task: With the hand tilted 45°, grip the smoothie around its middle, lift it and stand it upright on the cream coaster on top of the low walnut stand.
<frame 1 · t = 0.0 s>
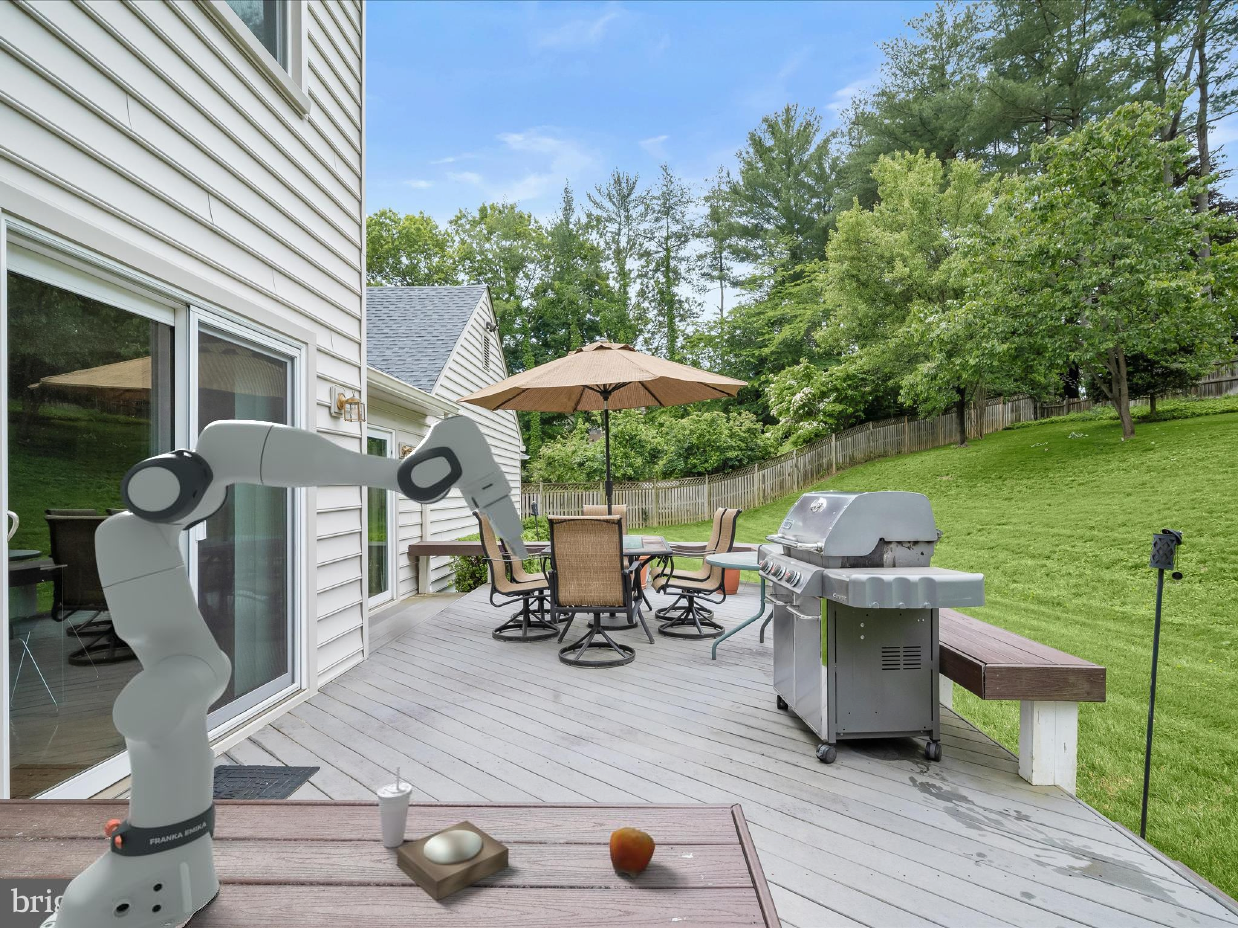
hand: (521, 556, 119), 54 cm above the table, tool tilted 30°, fingers open, 8 cm apart
fruit: (631, 870, 109), on the table
smoothie: (393, 842, 117), on the table
stand: (452, 865, 109), on the table
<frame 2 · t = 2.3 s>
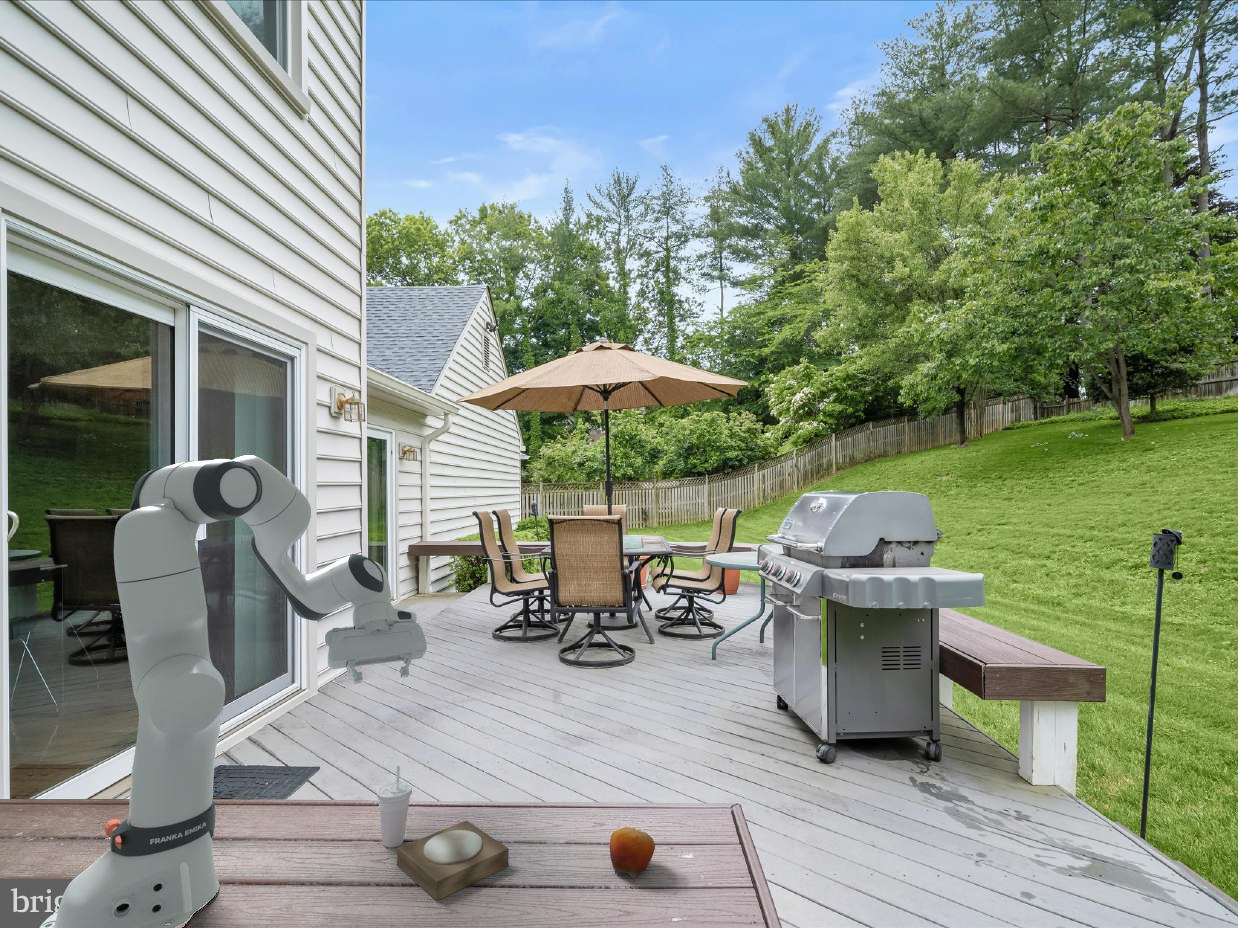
hand: (382, 678, 130), 27 cm above the table, tool tilted 45°, fingers open, 8 cm apart
nothing on the table moved.
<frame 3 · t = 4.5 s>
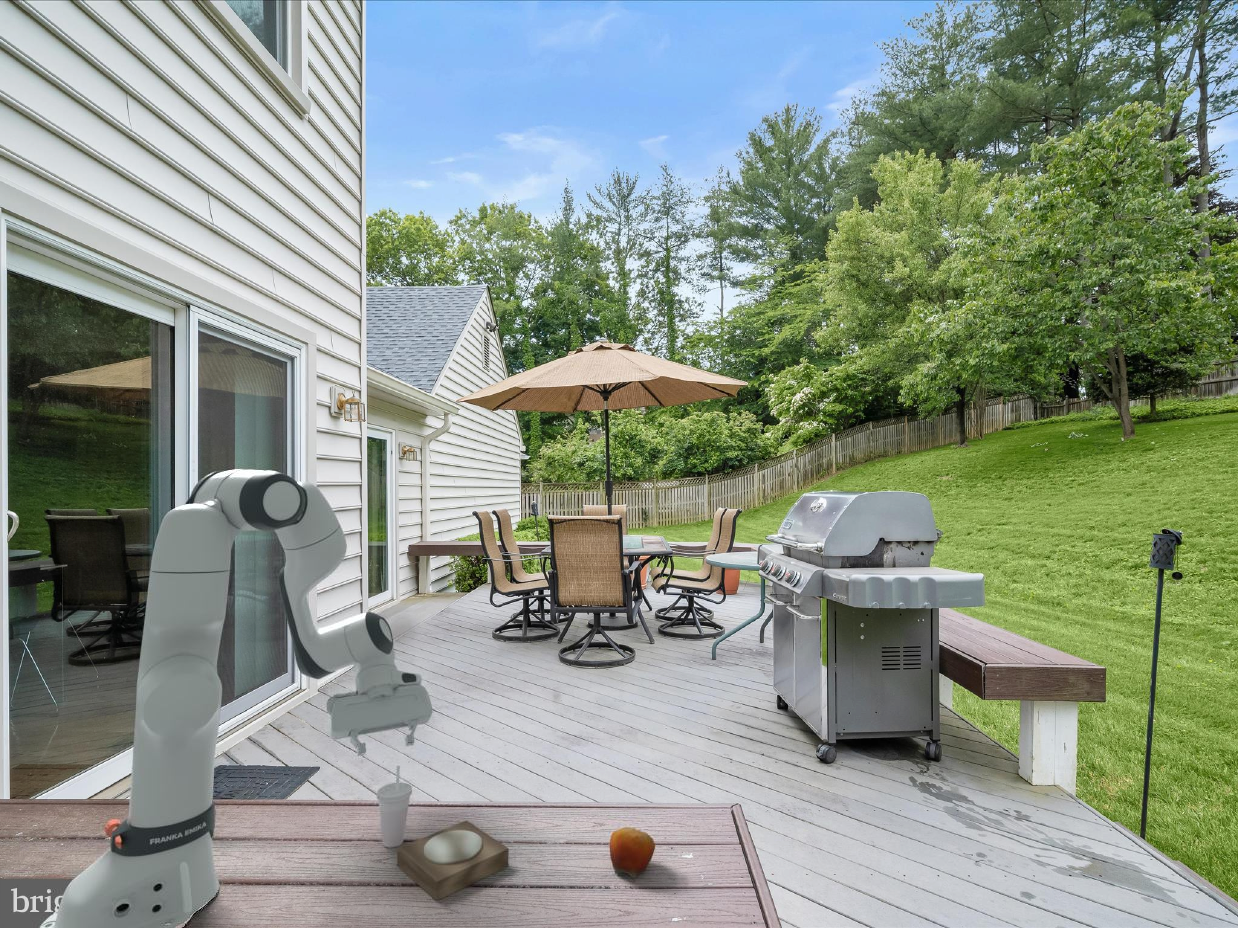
hand: (386, 749, 125), 15 cm above the table, tool tilted 45°, fingers open, 8 cm apart
nothing on the table moved.
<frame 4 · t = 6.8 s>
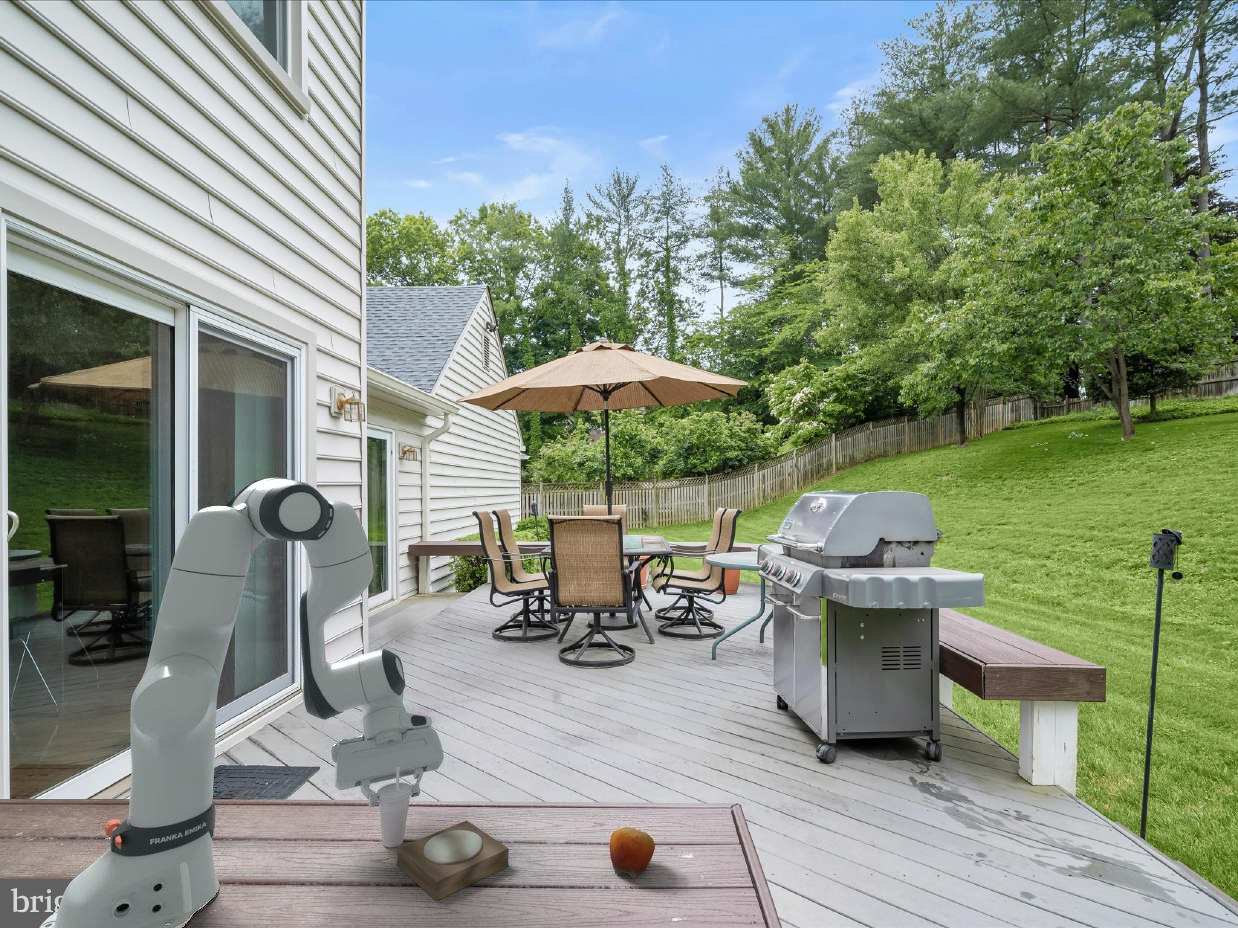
hand: (395, 800, 117), 8 cm above the table, tool tilted 45°, fingers closed on smoothie, 6 cm apart
smoothie: (393, 842, 117), on the table, touching gripper
everything else where it was.
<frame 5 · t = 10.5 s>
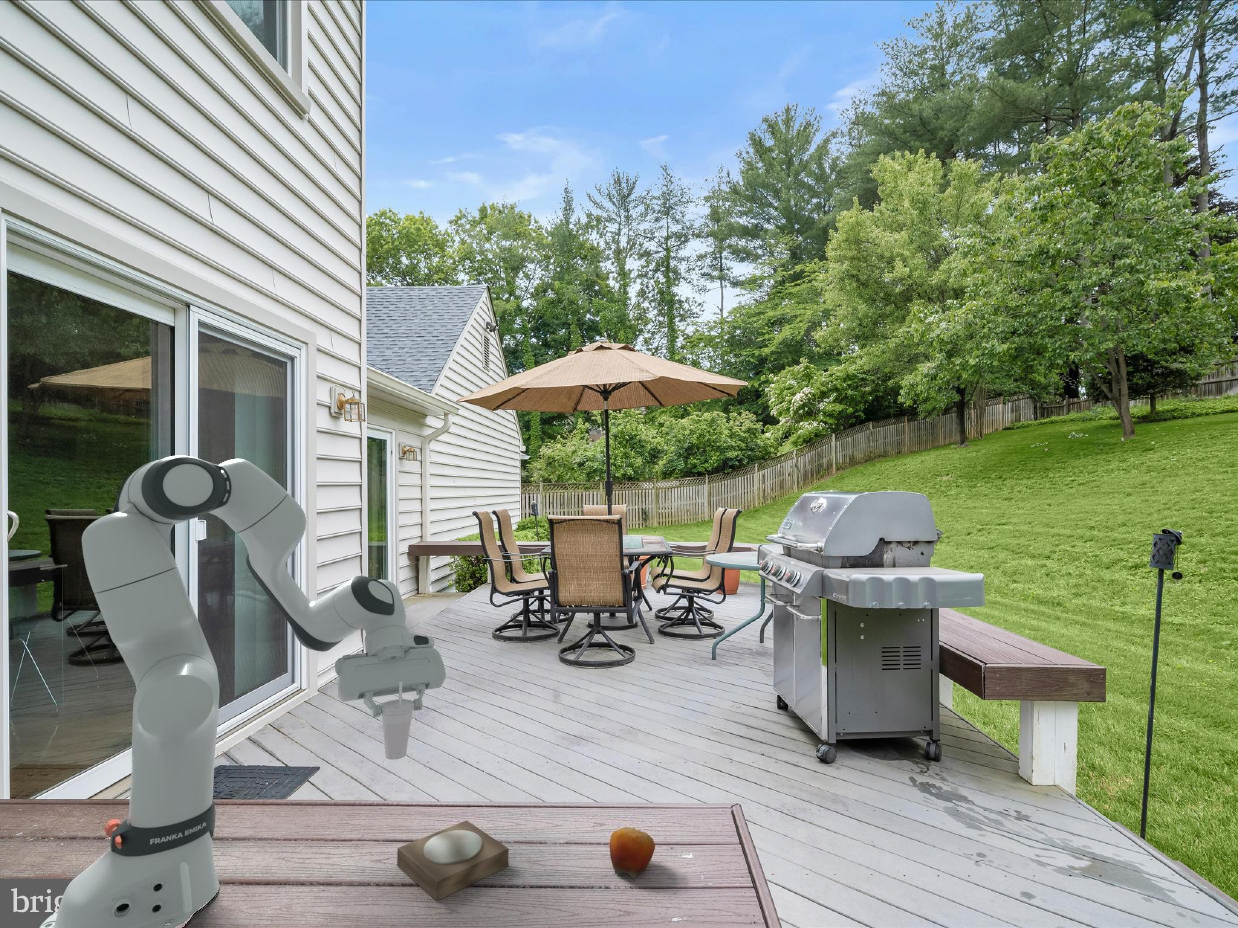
hand: (398, 712, 118), 24 cm above the table, tool tilted 45°, fingers closed on smoothie, 6 cm apart
smoothie: (395, 756, 118), point 16 cm above the table, touching gripper
everything else where it was.
when the fingers open (13 cm above the table, at t = 14.5 s): smoothie stays where it is, resting on stand.
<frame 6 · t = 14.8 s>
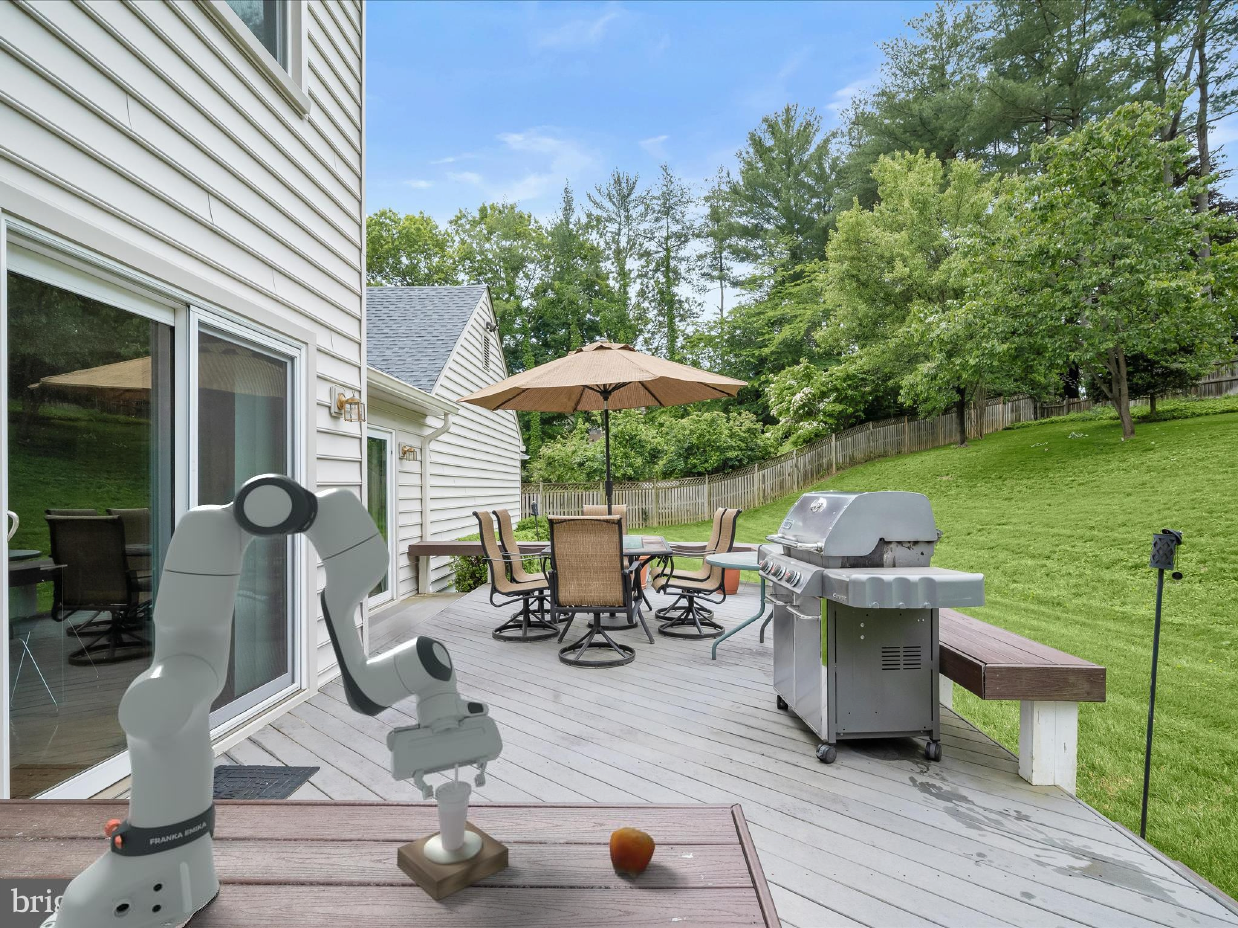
hand: (455, 791, 110), 13 cm above the table, tool tilted 45°, fingers open, 8 cm apart
smoothie: (452, 845, 110), point 3 cm above the table, touching stand
everything else where it was.
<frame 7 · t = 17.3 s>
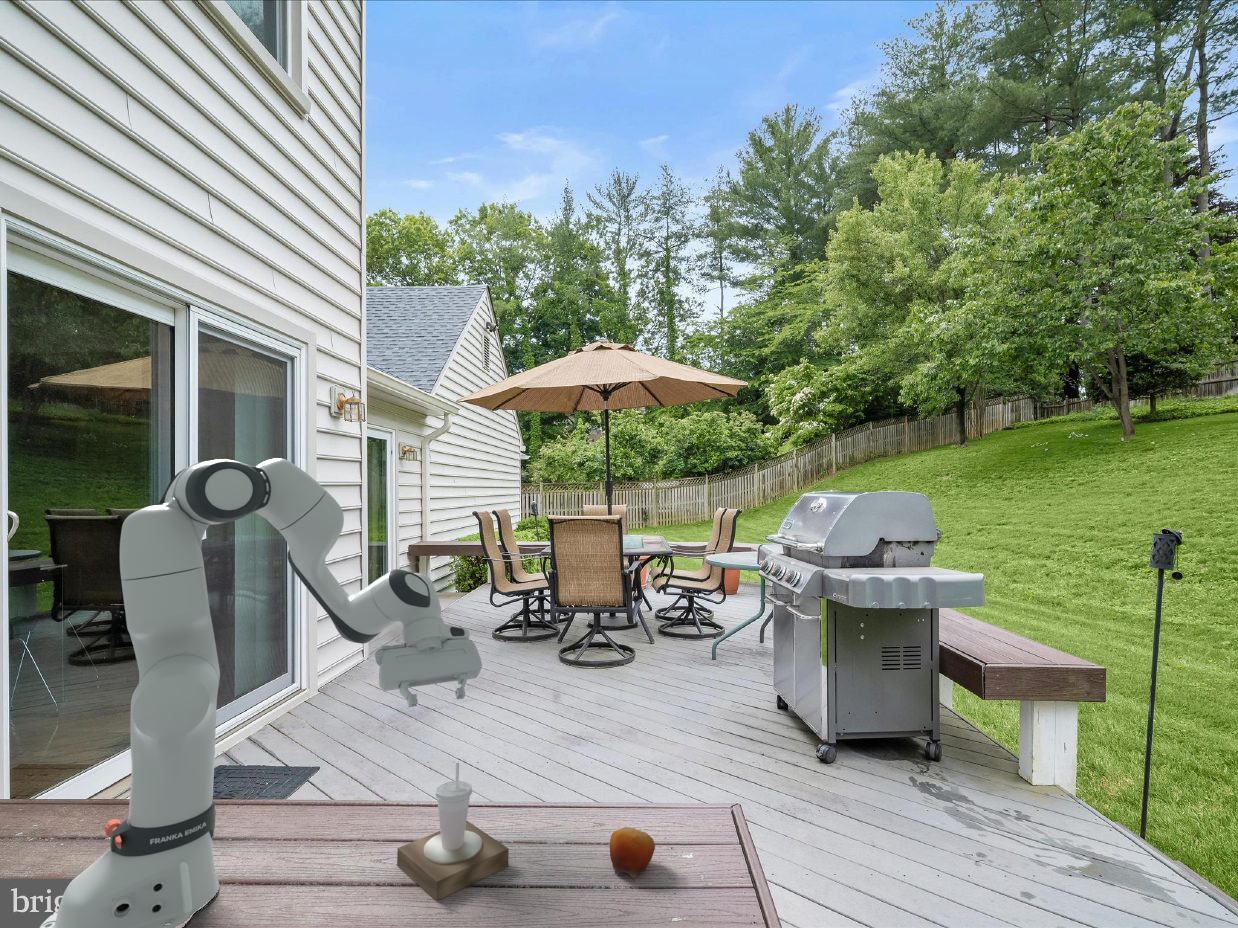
hand: (437, 701, 121), 25 cm above the table, tool tilted 45°, fingers open, 8 cm apart
nothing on the table moved.
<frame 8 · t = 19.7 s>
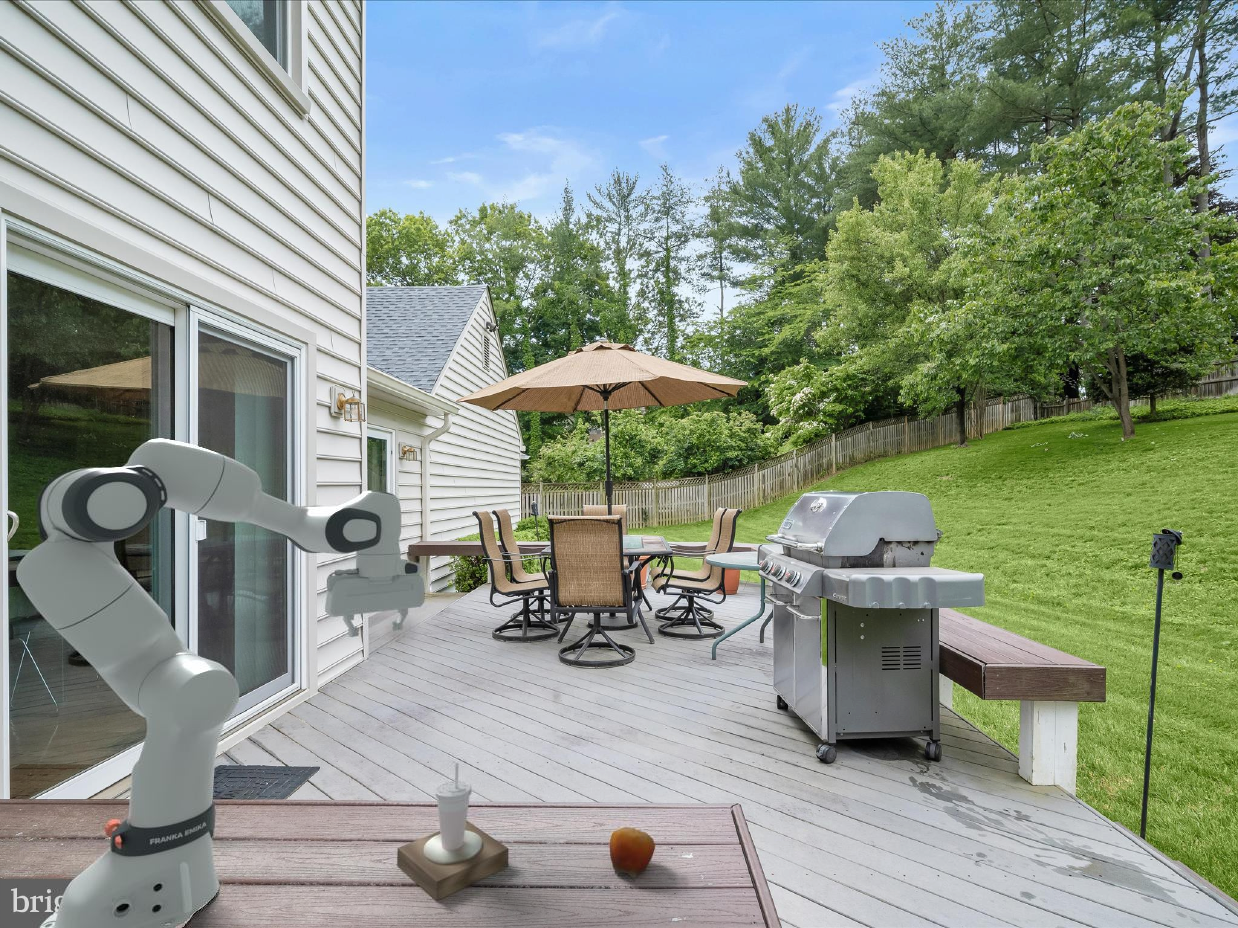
hand: (375, 633, 130), 37 cm above the table, tool pointing down, fingers open, 8 cm apart
nothing on the table moved.
at the end: smoothie inside the target area on the stand (0.1 cm from its centre), point 3.4 cm above the stand's base; smoothie tilted 0°; the gripper is holding nothing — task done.
